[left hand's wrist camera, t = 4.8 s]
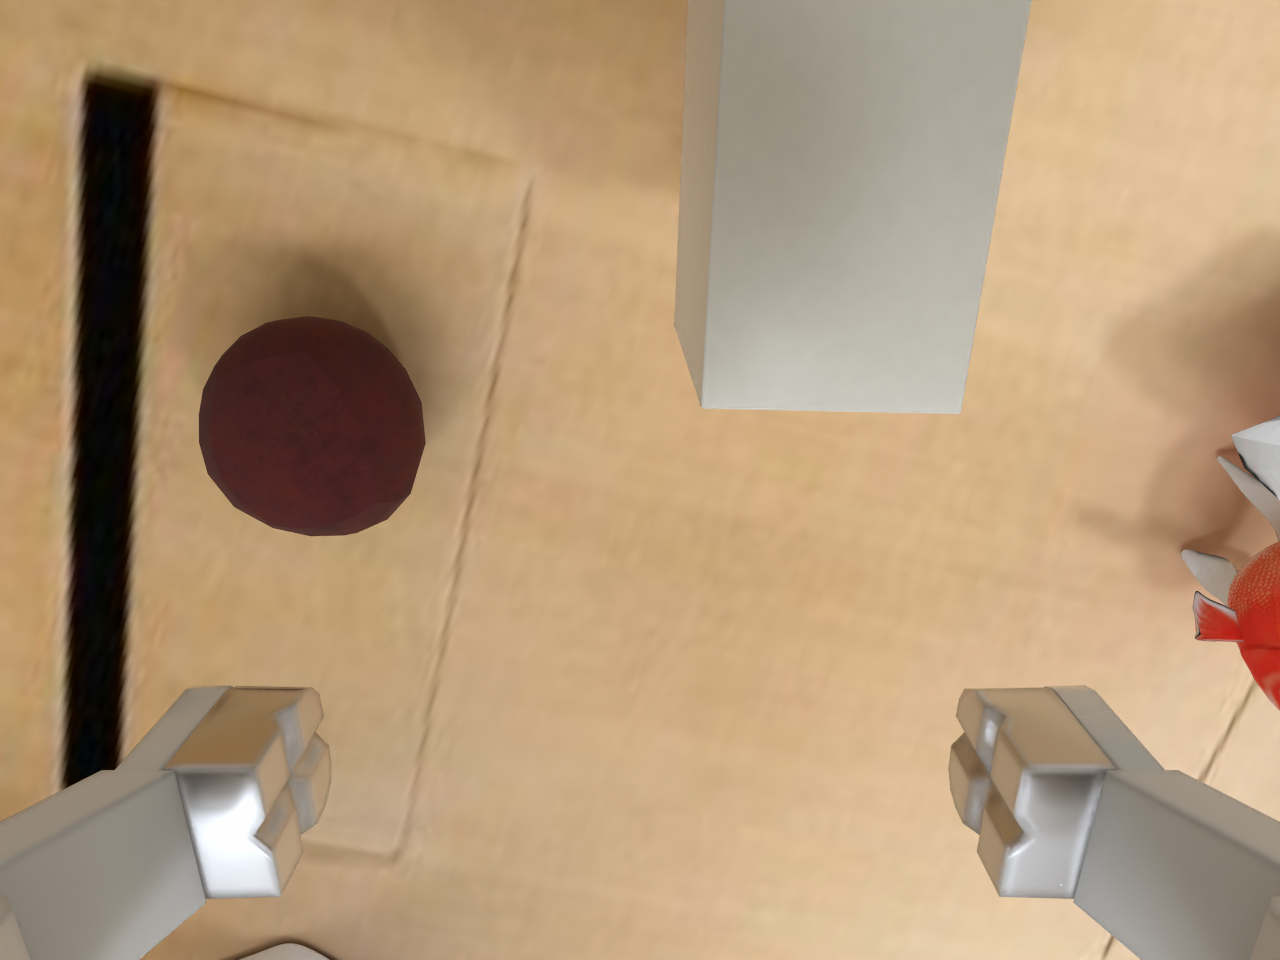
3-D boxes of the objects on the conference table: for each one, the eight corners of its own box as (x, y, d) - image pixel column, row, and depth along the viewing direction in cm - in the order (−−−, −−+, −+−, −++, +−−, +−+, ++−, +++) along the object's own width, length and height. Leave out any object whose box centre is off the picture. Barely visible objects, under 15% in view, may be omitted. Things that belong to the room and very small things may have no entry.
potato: (403, 278, 30) (340, 309, 23) (472, 472, 33) (433, 548, 26) (215, 330, 30) (102, 374, 24) (298, 516, 33) (216, 602, 27)
